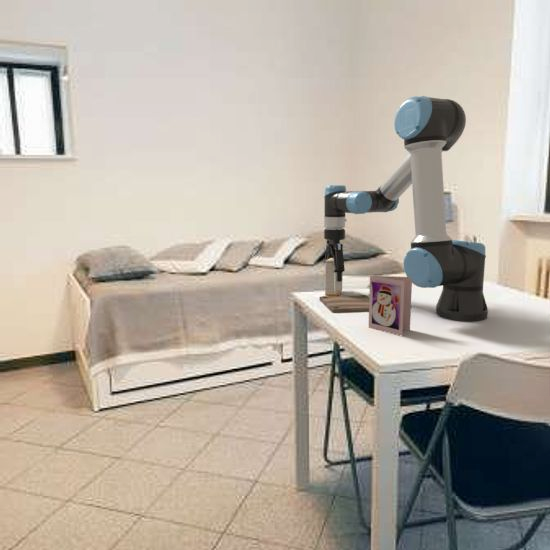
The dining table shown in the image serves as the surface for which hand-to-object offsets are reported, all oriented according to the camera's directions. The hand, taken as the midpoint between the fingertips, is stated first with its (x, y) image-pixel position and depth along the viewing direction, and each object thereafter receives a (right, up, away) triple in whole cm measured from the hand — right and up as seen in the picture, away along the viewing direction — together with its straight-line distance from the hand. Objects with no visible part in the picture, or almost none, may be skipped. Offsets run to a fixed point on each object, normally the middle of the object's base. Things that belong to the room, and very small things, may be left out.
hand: (333, 286), depth 195 cm
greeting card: (+11, -11, -47) cm, 49 cm away
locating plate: (+4, -6, -17) cm, 19 cm away
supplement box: (0, -3, 0) cm, 3 cm away
